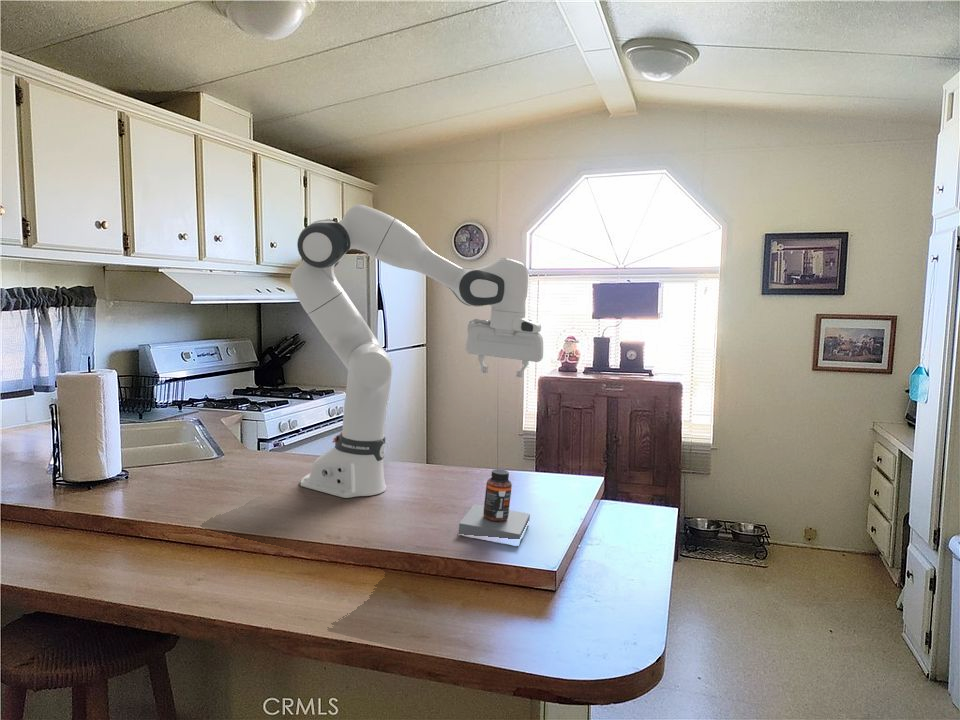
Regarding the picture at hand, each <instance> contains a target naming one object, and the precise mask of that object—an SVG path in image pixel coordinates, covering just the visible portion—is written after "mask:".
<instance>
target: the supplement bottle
mask: <svg viewBox="0 0 960 720" xmlns="http://www.w3.org/2000/svg"><path fill="white" fill-rule="evenodd" d="M509 474H510V473H509V471H508V470H506V469H500V468H499V469H498V468H497V469H496V468H495V469H492V470H491V477H490V478H488V479H487V480H486V486H485V493H484V503H483V506H484V513H483V515H484V517H485V518H486V519H488V520H491V521H496V522H502V521H505V520H507V519H508V515H509V510H510V506H511V505H510V504H511V502H510V501H511V495H512V487H513V486H512V485H513V484H512V482H511V480H510V479H509V476H510V475H509Z"/></svg>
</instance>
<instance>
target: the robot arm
mask: <svg viewBox="0 0 960 720" xmlns="http://www.w3.org/2000/svg"><path fill="white" fill-rule="evenodd" d="M296 243H297V246H296V247H297V251H298V255H299V256H300V258H301V259H302V260H303V261H302V262H301V263H300V264H298V266H297V267H295V268H294V269H293V271H292V272H291V274H290V285H291V287H292V290H293V291H294V293H295V296H296V298H297V300H298V301H299V303H300V304H301V306H302V308H303V310H304V311H305V313H306V314H307V315H308V318H310V320H311V321H312V322H313V324H314V325H315V327H316V329H317V330H318V331H319V333H320V334H321V336H322V337H323V339H324V340H325V341H326V342H327V344H328V345H329V347H331V349H332V350H333V351H334V353H335V355H336V356H337V357H338V358H339V360H340V361H341V363H342V364H343V365H344V366H345V368H346V370H347V378H346V379H347V380H346V389H345V395H344V396H345V398H344V403H343V416H342V420H343V421H342V429H341V431H342V432H340V433H339V434H337V435H336V436H335V437H334V438H332V443H333V444H335V445H334V447H332V448H331V449H329V450H328V451H326V452H325V453H323V454H322V455H320V456H318V457H317V458H316V459H315V460H314V461H313V463H312V465H311V468H310V472H309V473H308V474H307V475H304V476H303V477H302V478H301V480H300V486H301V487H303V488H307V489H311V490H314V491H318V492H322V493H325V494H329V495H332V496H336V497H340V498H345V499H349V498H354V497H355V498H356V497H368V496H369V497H370V496H375V495H379V494H381V493H383V492H385V491H386V490H387V484H386V481H385V472H384V458H385V453H386V436H385V433H386V432H385V430H386V416H387V408H388V407H387V406H388V402H389V401H388V400H389V396H390V389H391V382H392V375H393V374H392V373H393V361H392V359H391V356H390V355H389V354H388V353H387V352H386V350H385V349H384V347H383V346H382V344H381V343H380V342H379V340H378V339H377V338H376V336H375V334H374V333H373V332H372V329H371V328H370V327H369V325H368V324H367V322H366V321H365V319H364V317H363V316H362V314H361V313H360V311H359V310H358V309H357V306H355V304H354V302H353V301H352V300H351V298H350V297H349V295H348V293H347V292H346V291H345V289H344V288H343V286H342V285H341V284H340V282H339V280H338V279H337V276H336V274H335V267H336V266H337V265H339V263H340V262H341V260H343V258H345V256H346V254H347V253H348V251H350V250H358V251H361V252H363V253H365V254H368V255H369V256H371V257H373V258H374V259H376V260H378V261H380V262H383V263H385V264H387V265H390V266H392V267H396V268H398V269H399V268H400V269H403V270H408V271H413V272H414V271H415V272H417V273H420V274H423V275H425V276H427V278H428V277H429V278H431V279H432V280H434V281H435V282H438V283H439V284H441V285H443V286H445V287H447V288H448V289H450V291H451V292H452V293H453V295H454V296H455V297H456V299H457V300H458V301H459V302H460V303H462V304H463V305H464V306H469V307H476V308H479V307H483V306H490V307H491V311H490V319H489V320H488V319H477V318H474V319H473V320H470V321H469V322H468V324H467V330H466V332H467V338H466V344H465V351H466V353H467V354H469V355H477V360H478V362H479V365H480V366H481V367H480V368H481V369H480V372H481V373H482V374H488V372H489V365H486V364H485V361H484V360H485V359H486V357H491V358H492V357H493V358H494V357H495V358H501V359H509V360H518V361H521V365H522V367H521V368H520V369H517V370H516V376H515V377H516V378H520V379H522V378H523V376H524V371H525V370H526V368H527V367H528V365H529V363H530V362H532V363H533V362H535V363H539V362H541V361H542V360H543V358H544V338H543V336H542V334H541V333H540V332H541V331H542V325H541V324H540V323H538V322H536V321H533V320H532V319H529V318H527V317H526V307H525V304H526V299H527V297H528V290H529V286H528V285H529V271H528V268H527V266H526V264H524V263H523V262H520V261H518V260H516V259H511V258H506V257H501V258H499V259H498V260H496V261H494V262H492V263H489V264H487V265H485V266H481V267H478V268H477V267H476V268H465V267H462V266H459V265H457V264H455V263H453V262H451V261H449V260H448V259H446V258H444V257H442V256H441V255H439V254H437V253H436V252H434V251H433V250H432V249H431V248H429V246H428V245H427V244H426V243H425V241H423V239H422V237H421V236H420V235H419V234H418V233H417V232H416V231H415V230H414V229H412V228H411V227H409V226H408V225H407V224H405V223H404V222H403V221H401V220H399V219H397V218H395V217H393V216H392V215H389V214H387V213H385V212H383V211H381V210H379V209H376V208H373V207H371V206H368V205H364V204H355V205H353V206H352V207H350V208H349V209H348V210H347V211H346V212H345V214H344V215H343V218H342V219H341V220H339V221H337V220H334V219H329V218H327V219H320V220H316V221H313V222H311V223H310V224H309V225H307V226H306V227H305V228H303V229H302V231H301V232H300V233H299V236H298V238H297V242H296Z"/></svg>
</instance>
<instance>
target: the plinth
mask: <svg viewBox="0 0 960 720" xmlns="http://www.w3.org/2000/svg"><path fill="white" fill-rule="evenodd" d="M483 513H484V504H477V503H474V504H473V505H472V506H471V508H470V509H469V510H468V512H467V513H466V514H465V515H464V517H463V518H462V519H461V520H460V522H459V524H458V525H459V526H458V534H464V535H474V536H488V537H499V538H508V539H520V537H521V535H522V533H523V531H524V529H525V527H526V525H527V523H528V521H529V522H530V518H531V516H530V515H531V513H529V512H527V513H526V512H521V511H515V510H511V509H509V515H508V519H507V520H505V521H502V522H496V521H491V520H488V519H486V518H485V517H484V515H483ZM458 534H457V535H458Z"/></svg>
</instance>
